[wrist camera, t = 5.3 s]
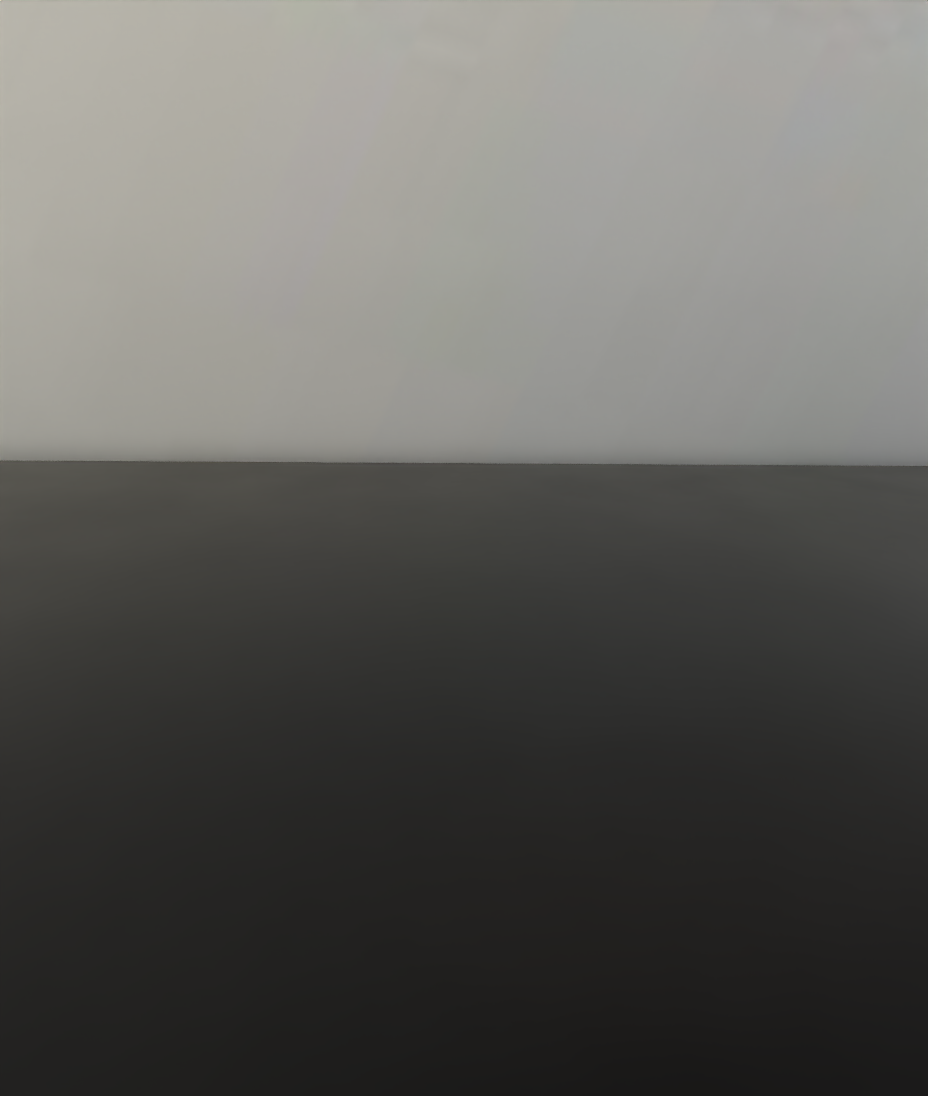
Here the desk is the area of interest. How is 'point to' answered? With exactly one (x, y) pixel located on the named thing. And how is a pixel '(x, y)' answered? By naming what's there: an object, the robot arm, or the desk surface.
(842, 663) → the laptop screen
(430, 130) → the desk surface
